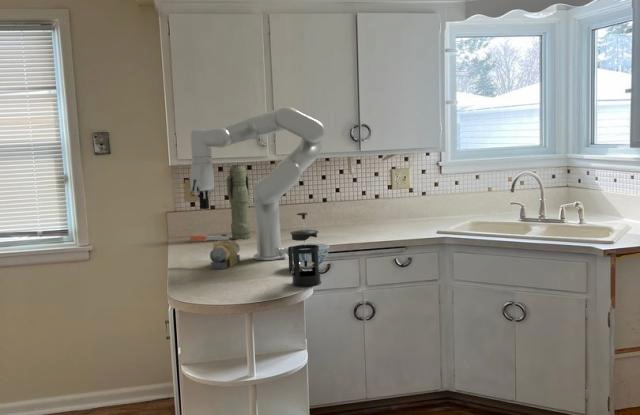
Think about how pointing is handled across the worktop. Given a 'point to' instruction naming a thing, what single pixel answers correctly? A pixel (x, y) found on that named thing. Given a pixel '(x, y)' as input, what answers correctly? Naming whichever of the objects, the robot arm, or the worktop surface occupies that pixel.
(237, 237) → the green piece
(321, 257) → the chinaware
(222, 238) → the valve lever
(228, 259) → the ball valve
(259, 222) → the robot arm
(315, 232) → the french press
